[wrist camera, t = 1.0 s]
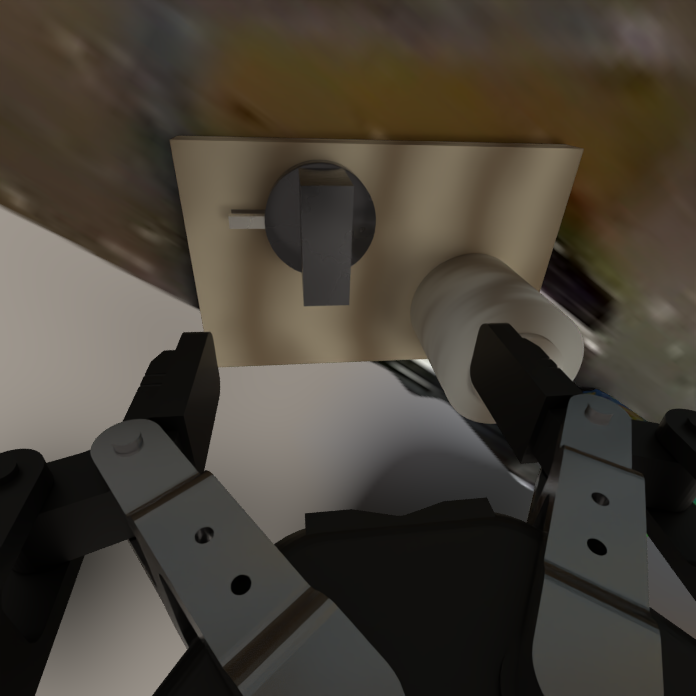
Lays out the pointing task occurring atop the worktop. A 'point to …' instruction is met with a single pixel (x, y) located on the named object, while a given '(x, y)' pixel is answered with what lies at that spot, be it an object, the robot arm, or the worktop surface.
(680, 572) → the robot arm
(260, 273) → the base
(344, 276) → the dark grey rotary knob
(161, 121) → the worktop surface
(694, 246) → the worktop surface
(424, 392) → the worktop surface
